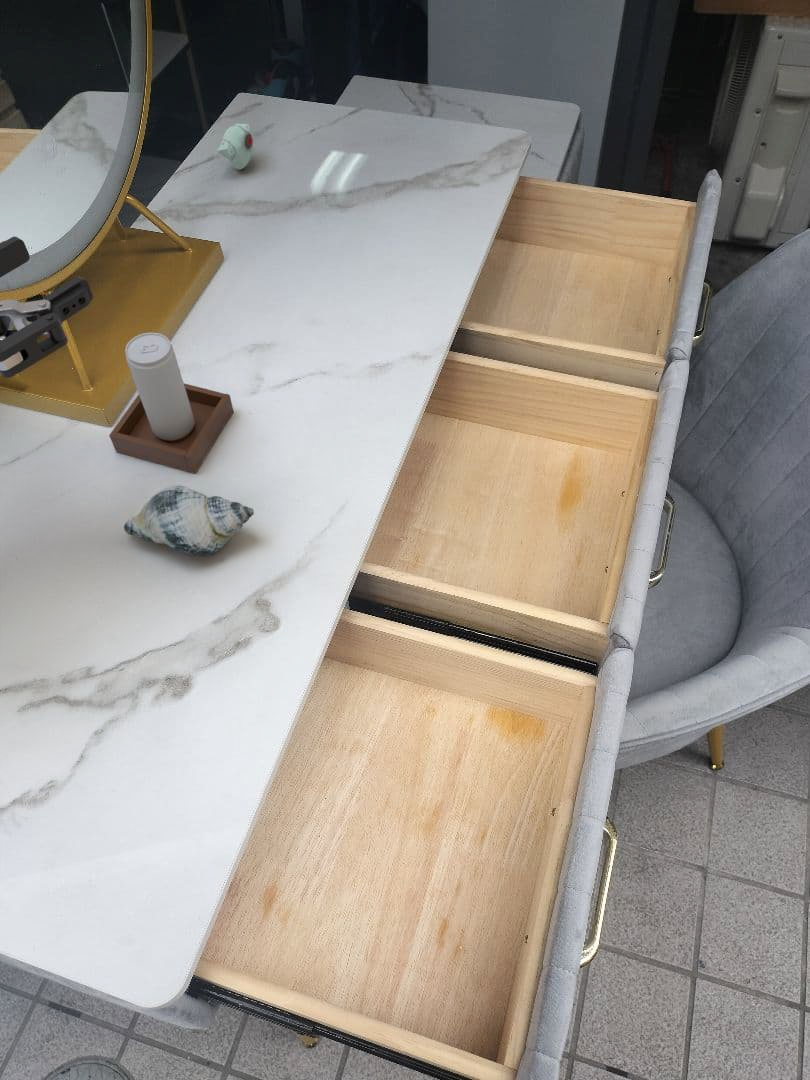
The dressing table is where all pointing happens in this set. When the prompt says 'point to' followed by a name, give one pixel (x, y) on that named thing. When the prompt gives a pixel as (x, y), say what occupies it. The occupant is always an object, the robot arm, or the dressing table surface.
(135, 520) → the seashell
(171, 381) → the beverage can
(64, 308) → the robot arm
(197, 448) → the tray
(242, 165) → the robot head
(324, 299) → the dressing table surface
